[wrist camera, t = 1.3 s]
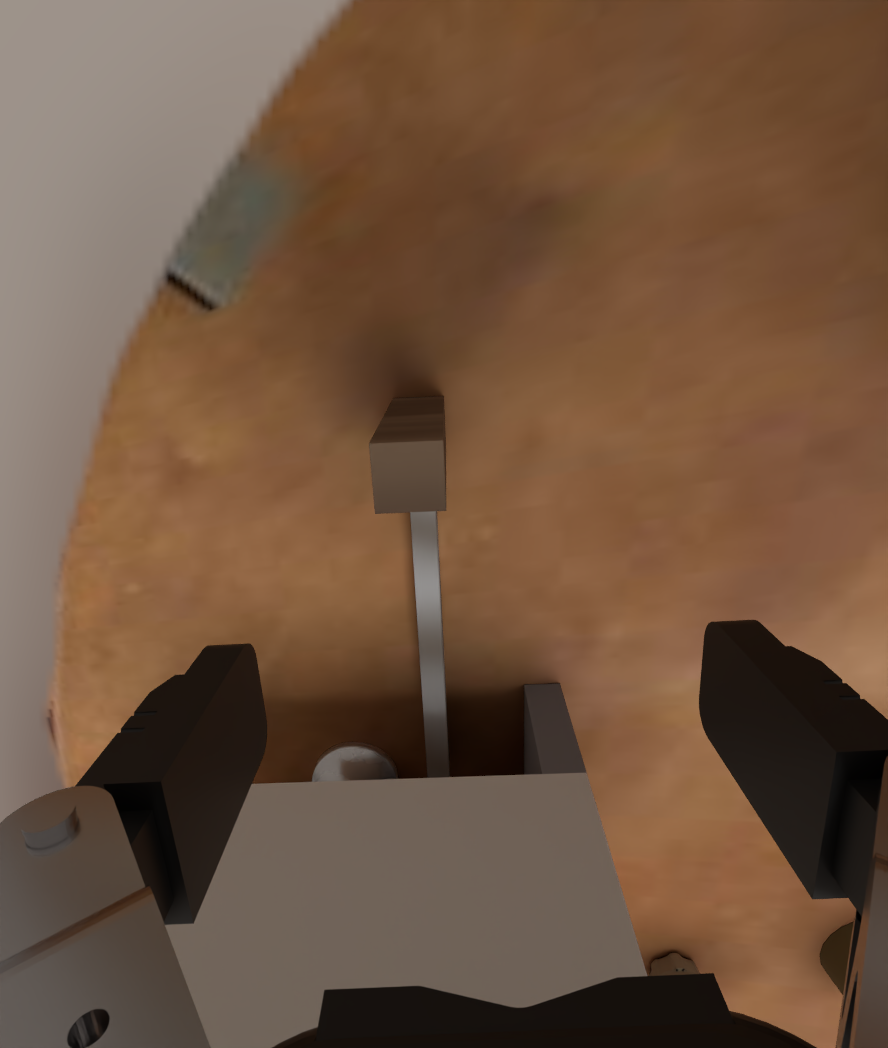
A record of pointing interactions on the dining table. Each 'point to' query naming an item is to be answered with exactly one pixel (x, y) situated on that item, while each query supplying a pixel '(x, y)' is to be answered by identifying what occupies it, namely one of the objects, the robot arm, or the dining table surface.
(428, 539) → the blade tool
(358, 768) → the ball
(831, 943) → the cork
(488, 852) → the cabinet
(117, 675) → the dining table surface
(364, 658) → the dining table surface
